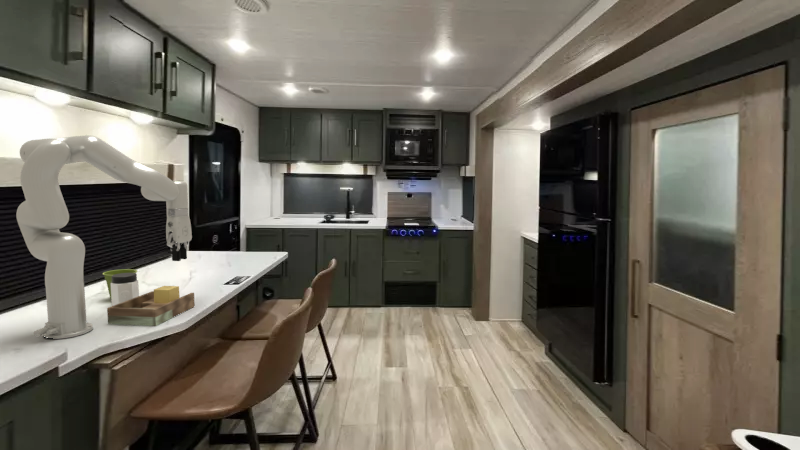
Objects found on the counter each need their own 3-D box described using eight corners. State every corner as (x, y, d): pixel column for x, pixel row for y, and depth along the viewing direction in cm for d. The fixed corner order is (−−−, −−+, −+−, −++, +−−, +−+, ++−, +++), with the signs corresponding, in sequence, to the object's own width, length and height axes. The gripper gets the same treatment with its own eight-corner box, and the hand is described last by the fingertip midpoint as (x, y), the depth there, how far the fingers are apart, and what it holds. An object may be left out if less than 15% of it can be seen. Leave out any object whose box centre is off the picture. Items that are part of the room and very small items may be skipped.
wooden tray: (155, 326, 142) (155, 309, 142) (108, 324, 144) (107, 308, 143) (194, 306, 165) (194, 292, 164) (152, 305, 166) (152, 291, 166)
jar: (111, 309, 160) (110, 278, 159) (111, 304, 167) (110, 274, 165) (139, 306, 165) (138, 275, 164) (138, 301, 172) (137, 271, 170)
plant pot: (122, 304, 168) (121, 275, 167) (96, 302, 170) (94, 274, 169) (145, 296, 179) (144, 269, 178) (120, 294, 181) (119, 268, 180)
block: (169, 303, 158) (169, 290, 158) (154, 302, 159) (153, 289, 158) (179, 299, 164) (178, 286, 164) (164, 298, 165) (164, 285, 164)
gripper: (173, 214, 158) (175, 264, 160) (198, 212, 175) (200, 256, 177) (154, 214, 159) (156, 263, 161) (181, 211, 176) (183, 256, 177)
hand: (179, 259), depth 169 cm, fingers open, 3 cm apart
